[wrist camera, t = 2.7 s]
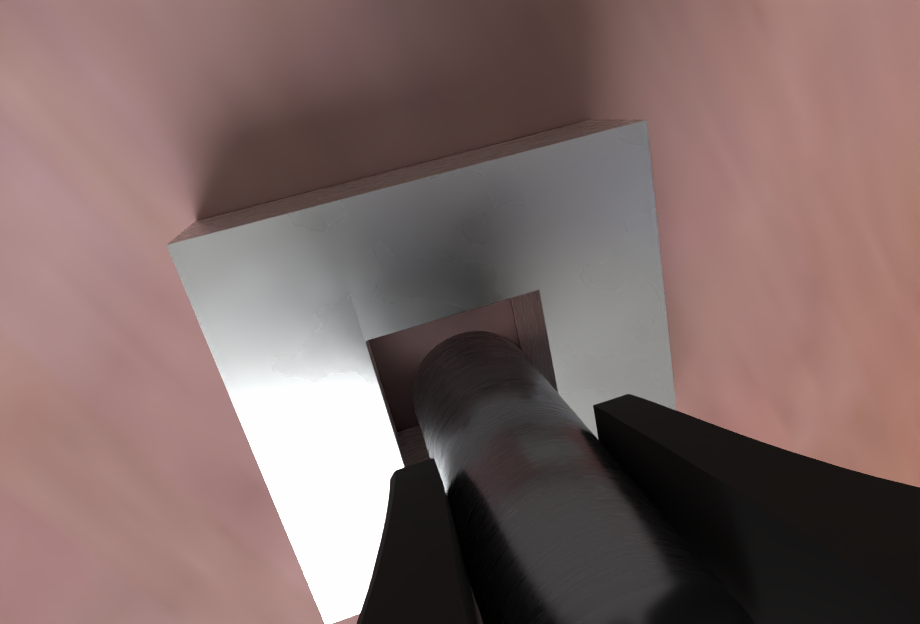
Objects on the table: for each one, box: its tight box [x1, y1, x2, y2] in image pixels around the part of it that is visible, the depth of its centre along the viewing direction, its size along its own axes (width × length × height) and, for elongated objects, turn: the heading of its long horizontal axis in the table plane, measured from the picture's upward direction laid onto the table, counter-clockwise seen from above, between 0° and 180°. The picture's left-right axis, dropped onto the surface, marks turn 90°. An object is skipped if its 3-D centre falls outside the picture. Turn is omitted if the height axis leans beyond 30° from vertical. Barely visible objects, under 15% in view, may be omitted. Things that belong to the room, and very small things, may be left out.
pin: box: [412, 331, 755, 624], centre depth 9 cm, size 3×3×7 cm
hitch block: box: [167, 120, 676, 624], centre depth 13 cm, size 9×9×2 cm
